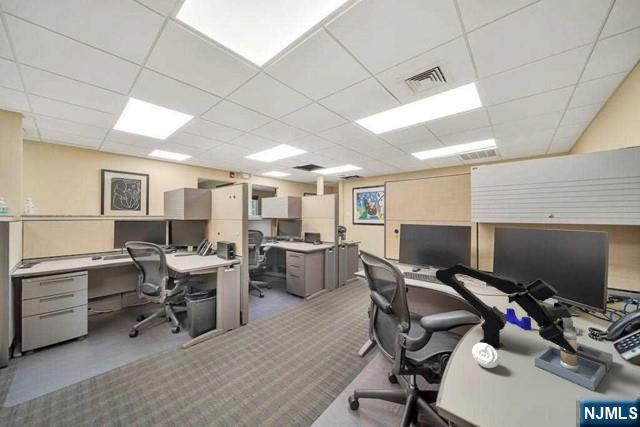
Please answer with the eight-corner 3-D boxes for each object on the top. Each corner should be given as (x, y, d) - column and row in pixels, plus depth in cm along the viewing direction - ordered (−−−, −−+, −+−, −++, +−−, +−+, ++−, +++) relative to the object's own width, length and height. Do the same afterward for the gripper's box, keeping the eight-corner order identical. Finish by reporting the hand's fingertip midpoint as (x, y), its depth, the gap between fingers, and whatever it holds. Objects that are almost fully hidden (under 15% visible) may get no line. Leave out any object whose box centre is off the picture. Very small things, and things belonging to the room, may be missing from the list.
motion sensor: (469, 364, 83) (469, 343, 83) (476, 356, 88) (476, 336, 88) (495, 376, 77) (495, 353, 77) (502, 367, 81) (501, 346, 82)
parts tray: (593, 391, 70) (593, 381, 70) (534, 365, 82) (534, 357, 82) (605, 374, 78) (605, 365, 78) (550, 353, 90) (549, 345, 90)
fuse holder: (606, 372, 79) (606, 362, 79) (565, 357, 88) (565, 348, 88) (612, 363, 84) (612, 354, 84) (573, 349, 93) (573, 341, 93)
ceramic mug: (544, 326, 113) (544, 311, 113) (552, 323, 116) (552, 309, 116) (574, 337, 103) (575, 321, 103) (582, 334, 106) (582, 318, 106)
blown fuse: (570, 372, 78) (568, 334, 79) (557, 364, 82) (555, 328, 83) (581, 372, 78) (579, 334, 79) (567, 364, 82) (566, 328, 83)
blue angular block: (503, 319, 121) (503, 308, 122) (512, 319, 121) (512, 308, 121) (521, 330, 110) (521, 317, 110) (531, 330, 109) (531, 318, 109)
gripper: (551, 302, 77) (603, 348, 69) (553, 291, 90) (596, 328, 82) (521, 318, 83) (566, 362, 75) (526, 305, 96) (565, 341, 87)
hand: (574, 347), depth 79 cm, fingers open, 9 cm apart
